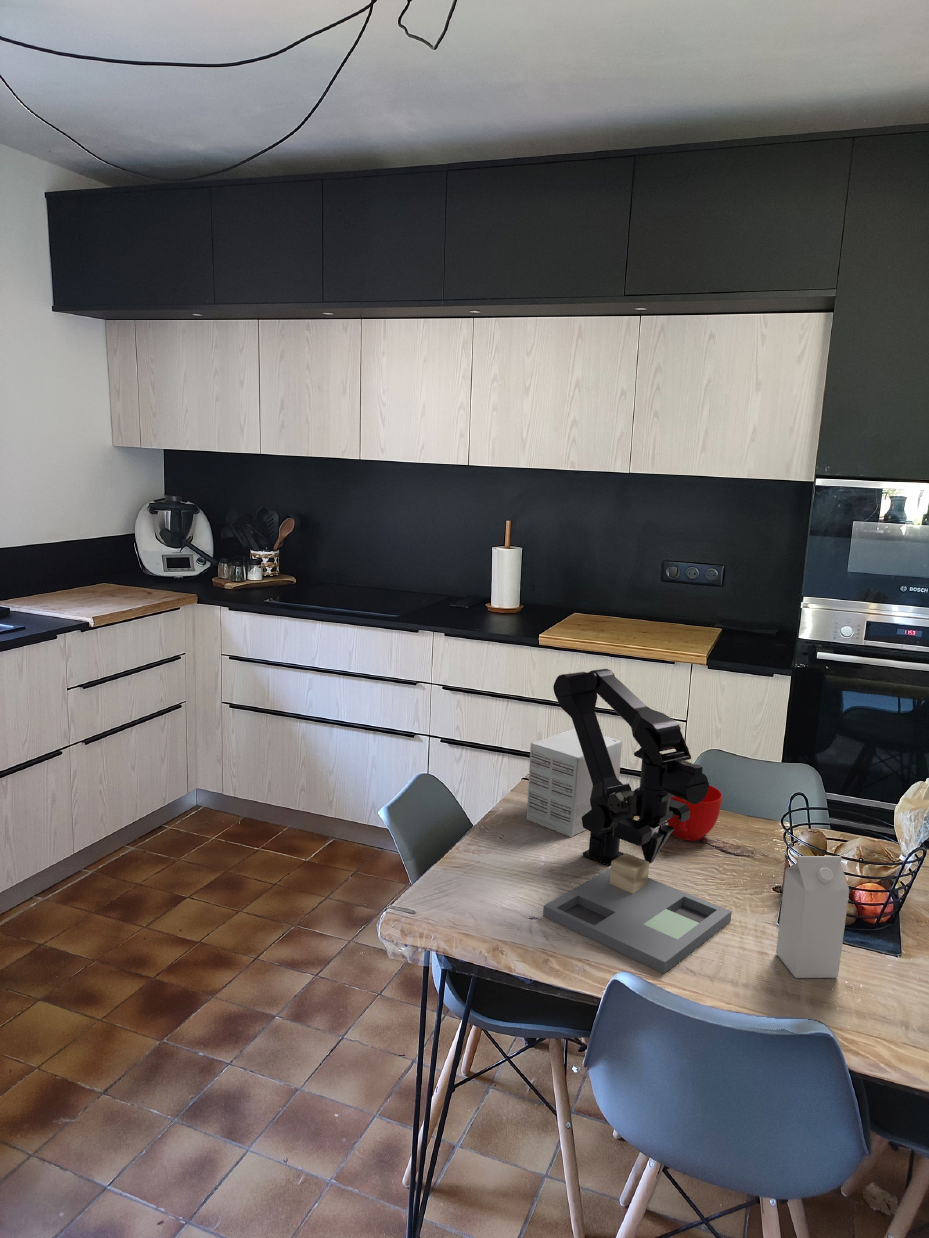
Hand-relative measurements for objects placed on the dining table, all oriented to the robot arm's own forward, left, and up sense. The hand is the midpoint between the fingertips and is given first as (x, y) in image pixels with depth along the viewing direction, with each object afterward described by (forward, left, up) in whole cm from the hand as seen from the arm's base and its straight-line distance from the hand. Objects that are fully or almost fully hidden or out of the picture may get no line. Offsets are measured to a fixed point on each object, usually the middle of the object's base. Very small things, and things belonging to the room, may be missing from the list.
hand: (648, 862), depth 166 cm
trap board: (+13, +6, -4) cm, 15 cm away
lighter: (-18, +23, -4) cm, 30 cm away
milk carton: (+6, +33, -4) cm, 34 cm away
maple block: (+7, 0, -2) cm, 7 cm away
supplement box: (-14, -28, -4) cm, 32 cm away
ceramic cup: (-24, -5, -4) cm, 25 cm away
